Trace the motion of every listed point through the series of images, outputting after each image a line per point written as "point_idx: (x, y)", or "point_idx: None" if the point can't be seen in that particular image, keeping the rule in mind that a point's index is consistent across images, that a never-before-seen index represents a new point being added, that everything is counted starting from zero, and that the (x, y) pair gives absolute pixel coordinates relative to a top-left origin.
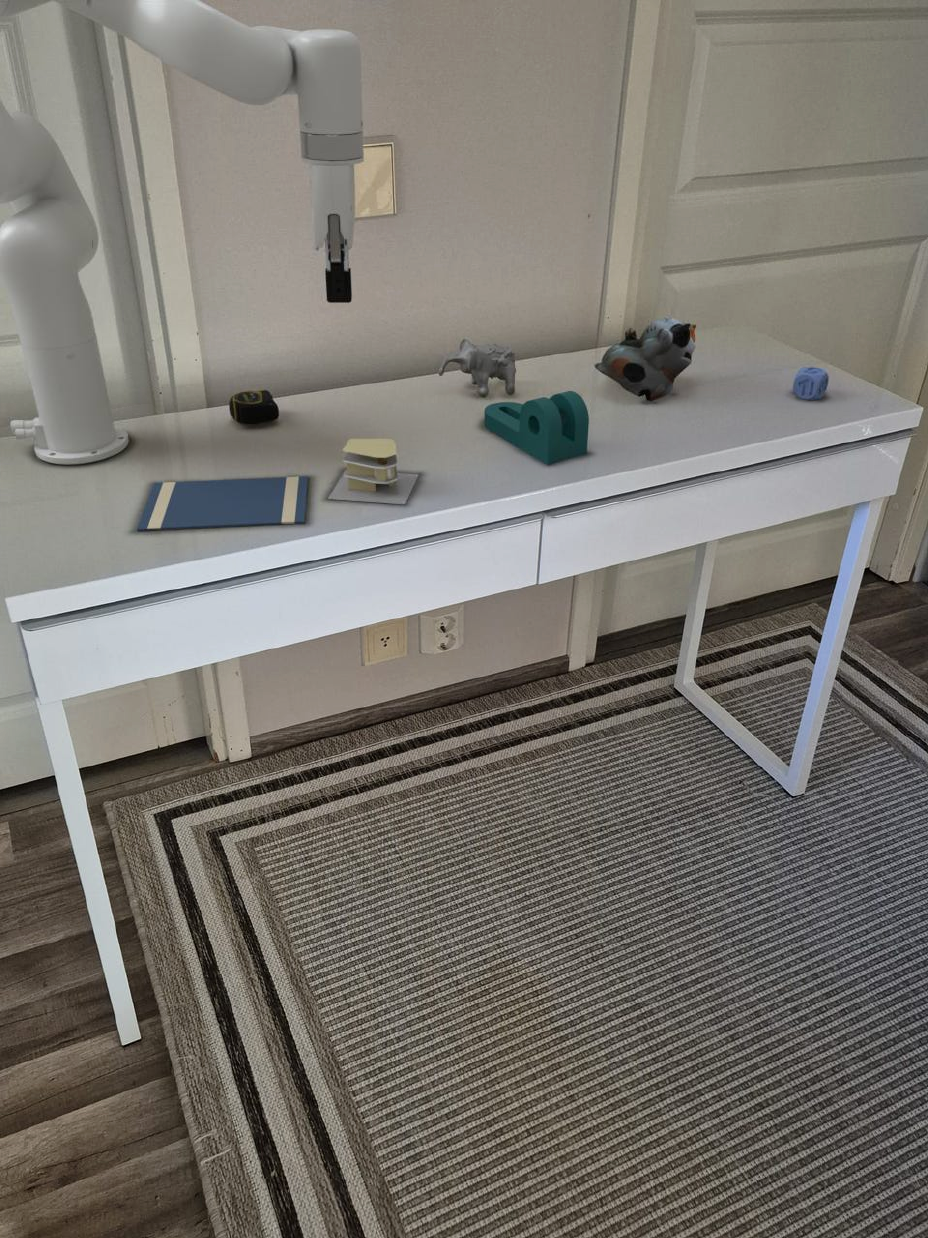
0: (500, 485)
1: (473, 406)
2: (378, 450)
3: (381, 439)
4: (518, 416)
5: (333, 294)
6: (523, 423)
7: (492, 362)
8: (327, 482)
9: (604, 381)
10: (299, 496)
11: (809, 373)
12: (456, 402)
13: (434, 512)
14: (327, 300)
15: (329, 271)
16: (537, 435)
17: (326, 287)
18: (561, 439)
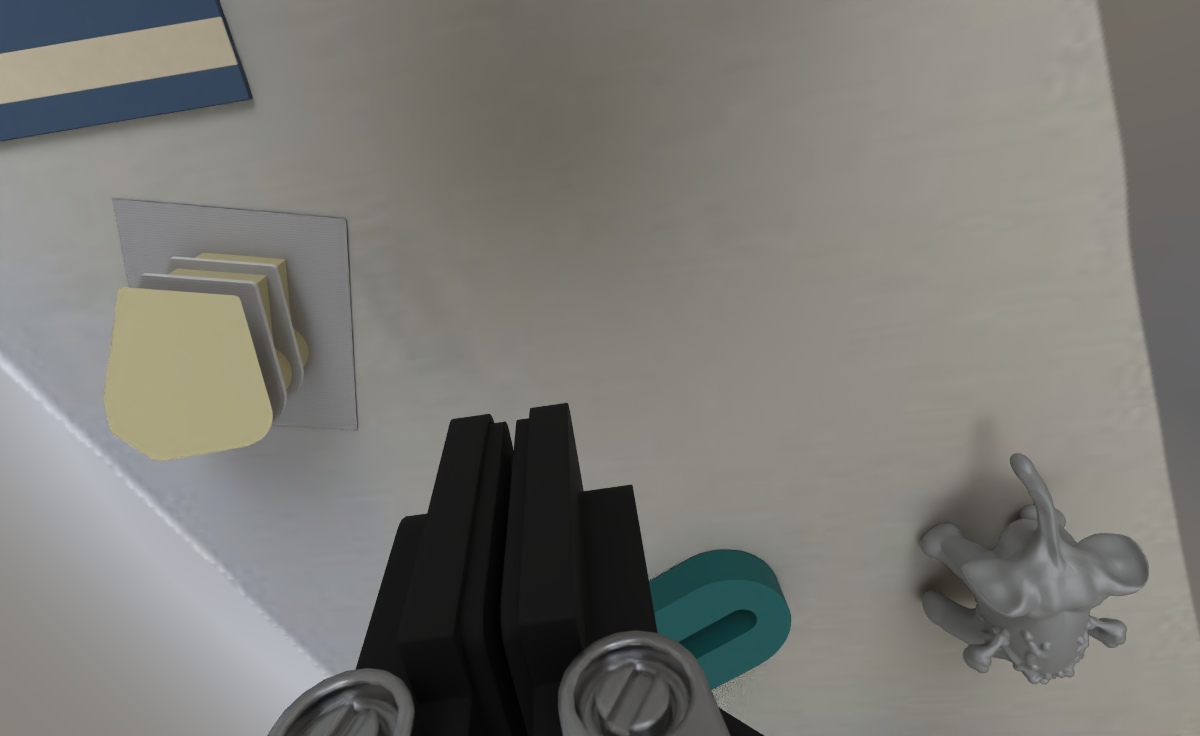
0: (337, 607)
1: (861, 514)
2: (166, 404)
3: (262, 401)
4: (706, 643)
5: (406, 525)
6: None
7: (997, 624)
8: (239, 173)
9: None
10: (80, 101)
11: None
12: (900, 470)
13: (137, 489)
14: (451, 424)
15: (321, 712)
16: None
17: (432, 498)
18: None
